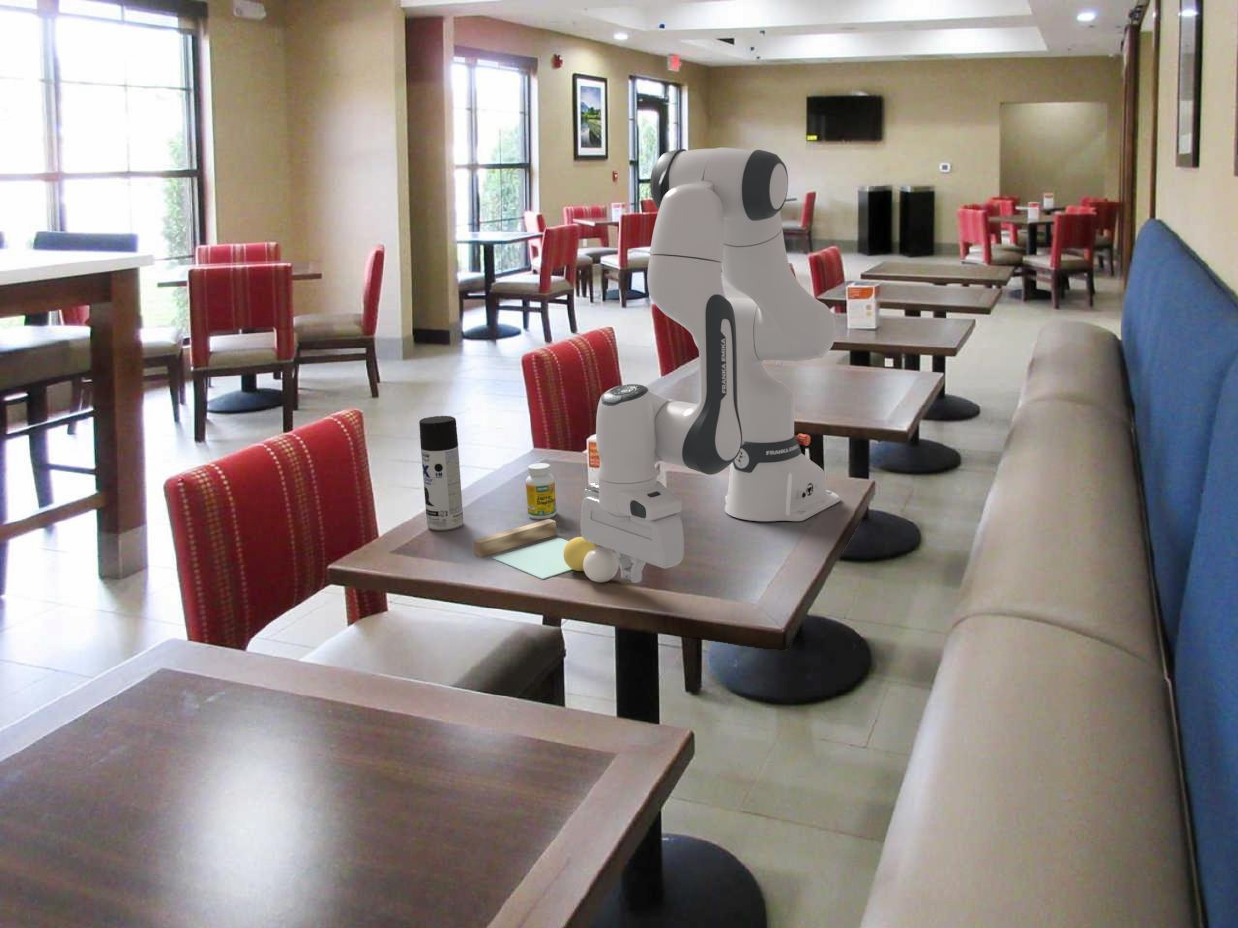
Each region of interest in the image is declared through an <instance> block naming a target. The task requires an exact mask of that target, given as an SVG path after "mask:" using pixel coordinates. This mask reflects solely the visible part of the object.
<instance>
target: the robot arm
mask: <svg viewBox="0 0 1238 928" xmlns="http://www.w3.org/2000/svg"><path fill="white" fill-rule="evenodd" d="M788 175H789V174H788V170H787V166H786V164H785V163H784V161H783V160H782V159H781V158H780V157H779V156H778V154H777V153H774V152H770V151H767V150H762V149H756V150H750V149H744V148H735V147H716V148H698V149H697V148H696V149H690V150H688V149H684V148H680V149H674V150H670V151H667V152H665V153H663V154H661V156H660V157H659V158H658V159H657V161H656V162H655V163H654V165H653V167H652V170H651V174H650V181H649V187H650V190H649V191H650V195H651V199H652V200H653V203H654V205H655V206H654V207H655V208H656V209H657V211H658V212H657V215H656V219H655V222H654V227H653V232H652V237H651V243H650V249H649V256H648V265H647V279H646V280H647V281H646V282H647V289H648V290H647V291H648V293H649V296H650V298H651V299H652V301H653V303H654V305H655V307H656V308H658V309H659V310H660V311H661V312H662V313H663V314H664V315H665V316H666V317H668V318H670V319H671V320H673V321H675V322H676V323H677V324H679V325H680V326H681V327H683V328H685V330H686V331H688V332H689V333H690V334H691V336H692V339H693V341H694V344H695V347H697V349H698V355H699V356H698V357H699V358H698V361H699V363H698V364H699V366H698V367H699V371H698V373H699V374H698V375H699V401H698V403H693V402H687V401H682V400H681V401H680V400H679V399H678V400H677V399H672V398H667V397H663V396H660V395H658V394H655V393H653V392H652V391H650V389H649V388H648V387H647V386H645V385H643V384H639V383H638V384H637V383H629V384H622V385H618V386H614V387H612V388H610V389H608V390H607V391H605V392H603V393H602V394H601V396H600V398H599V401H598V405H597V411H596V421H595V422H596V423H595V425H596V427H595V435H596V436H595V438H596V450H597V454H598V456H599V468H598V472H597V481H598V482H597V483H593V482H592V483H589V484H588V485H587V486H586V487H585V489H584V490H583V500H582V502H581V509H580V510H581V511H580V534H581V537H583V538H584V540H586V541H588V542H591V543H594V544H595V545H597V546H599V547H604V548H607V549H609V550H611V551H612V552H613V551H614V554H615V558H616V560H617V563H618V568H619V569H620V578H621V579H623V580H624V581H628V582H631V583H633V584H637V583H640V582H642V580H643V573H642V572H643V570H644V568H645V565H646V564H650V565H653V566H656V567H659V568H661V569H664V570H665V569H666V570H667V569H669V568H672V567H675V566H677V565H680V563H681V562H682V561H683V559H684V555H685V540H684V527H683V523H682V519H681V517H680V516H679V515H678V513H679V512H682V508H683V504H682V503H683V502H682V500H681V498H680V497H679V496H677V495H676V494H674V493H673V492H672V491H670V490H669V489H668V488H667V487H666V486H665V485H664V484H663V483H662V482H661V481H659V480H658V471H657V467H656V464H657V463H658V462H664V463H667V464H670V465H676V466H680V467H685V468H688V469H691V470H693V471H697V472H700V473H702V474H705V475H709V476H710V475H711V476H712V475H716V474H719V473H721V472H722V471H724V470H725V469H726V468H728V467H729V475H728V488H727V489H728V490H727V494H725V497H724V502H725V506H724V512H725V513H726V514H728V515H729V516H731V517H732V518H733V517H734V518H736V519H740V520H746V521H754V522H777V521H779V522H780V521H788V522H802V521H805V520H807V519H809V518H810V517H813V516H815V515H816V514H818V513H820V512H822V511H824V510H826V509H828V508H829V507H831V506H834V505H835V504H837V503H839V502H840V496H839V495H838V494H837V493H836V492H833V491H831V490H828V489H827V486H828V485H827V476H826V473H825V471H824V470H823V468H821V466H819V465H818V464H817V463H815V462H814V461H812V460H811V459H809V458H808V457H807V456H806V455H805V454H803V453H802V450H801V447H800V445H803V446H804V447H805V446H806V447H807V446H809V445H810V443H811V439H812V438H811V436H810V435H809V434H803V433H798V434H797V435H796V434H795V397H794V394H793V393H792V391H791V389H790V388H789V387H788V386H787V385H786V384H785V383H784V382H782V381H780V380H779V379H776V378H775V377H773V376H772V375H770V374H769V373H768V371H767V370H766V368H765V365H764V364H763V362H764V361H765V362H766V361H768V362H771V361H772V362H790V363H791V362H792V363H797V362H798V363H799V362H804V361H810V360H811V361H812V360H816V359H822V358H824V356H826V355H827V354H828V353H829V351H830V350H831V349H832V347H833V346H834V343H835V340H836V336H837V324H836V323H837V322H836V319H835V317H834V314H833V312H832V311H831V309H830V308H829V306H827V305H826V303H824V302H822V301H820V300H818V299H817V298H815V297H814V296H813V295H812V294H810V293H809V292H808V291H806V289H805V288H804V287H803V286H802V284H801V283H800V282H799V281H798V279H797V278H796V276H795V275H794V273H793V271H792V268H791V266H790V264H789V259H788V255H787V250H786V243H785V236H784V230H783V224H782V223H783V222H782V215H781V210H782V209H783V207H784V205H785V203H786V200H787V196H788V189H789V176H788ZM722 275H723V277H724V279H725V280H726V282H727V284H729V285H730V287H732V288H734V290H736V291H739V292H740V293H741V294H744V295H745V296H747V297H726V294H725V291H724V288H723V278H722Z"/></svg>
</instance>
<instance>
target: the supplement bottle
mask: <svg viewBox="0 0 1238 928" xmlns="http://www.w3.org/2000/svg"><path fill="white" fill-rule="evenodd" d="M527 467H528V476H527V477H526V479H525V490H526V493H525V494H526V503H527V515H528V517H529V518H531V519H534V520H547V519H551V518H553V517H554V516H556V514H557V497H556V484H555V483H556V482H555V477H554V476H553V475H552V474H551V465H550V464H549V463H546V462H538V463H532V464H530V465H528V466H527Z"/></svg>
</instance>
